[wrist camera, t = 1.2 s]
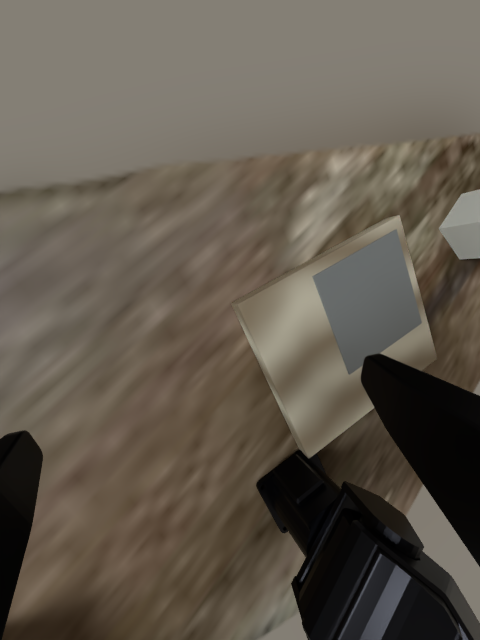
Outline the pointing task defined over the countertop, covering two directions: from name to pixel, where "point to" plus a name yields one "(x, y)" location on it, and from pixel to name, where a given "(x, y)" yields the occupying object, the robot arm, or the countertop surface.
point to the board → (336, 330)
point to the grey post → (464, 226)
